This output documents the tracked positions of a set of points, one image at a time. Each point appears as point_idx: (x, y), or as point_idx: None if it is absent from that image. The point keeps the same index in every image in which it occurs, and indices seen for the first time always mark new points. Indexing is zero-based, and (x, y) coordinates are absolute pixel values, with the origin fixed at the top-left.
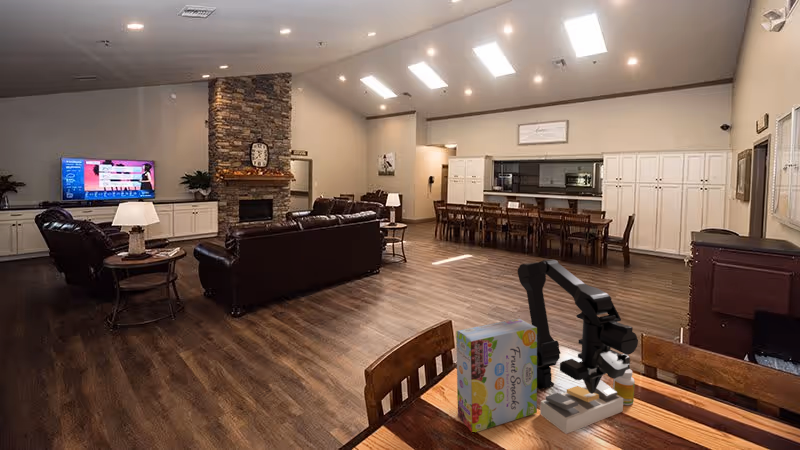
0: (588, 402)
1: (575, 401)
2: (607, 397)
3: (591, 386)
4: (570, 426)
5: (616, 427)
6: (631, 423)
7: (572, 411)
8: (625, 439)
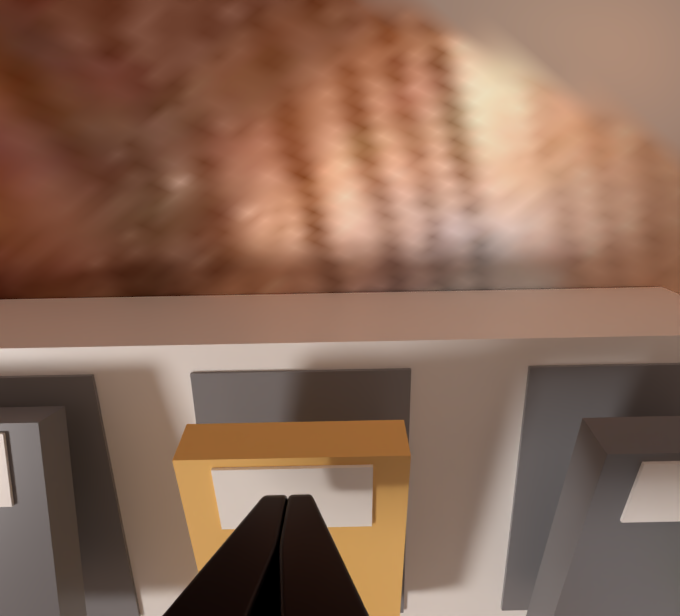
0: None
1: (622, 470)
2: (34, 411)
3: (366, 611)
4: (644, 304)
5: (195, 166)
6: (10, 147)
7: (593, 403)
8: (263, 3)
